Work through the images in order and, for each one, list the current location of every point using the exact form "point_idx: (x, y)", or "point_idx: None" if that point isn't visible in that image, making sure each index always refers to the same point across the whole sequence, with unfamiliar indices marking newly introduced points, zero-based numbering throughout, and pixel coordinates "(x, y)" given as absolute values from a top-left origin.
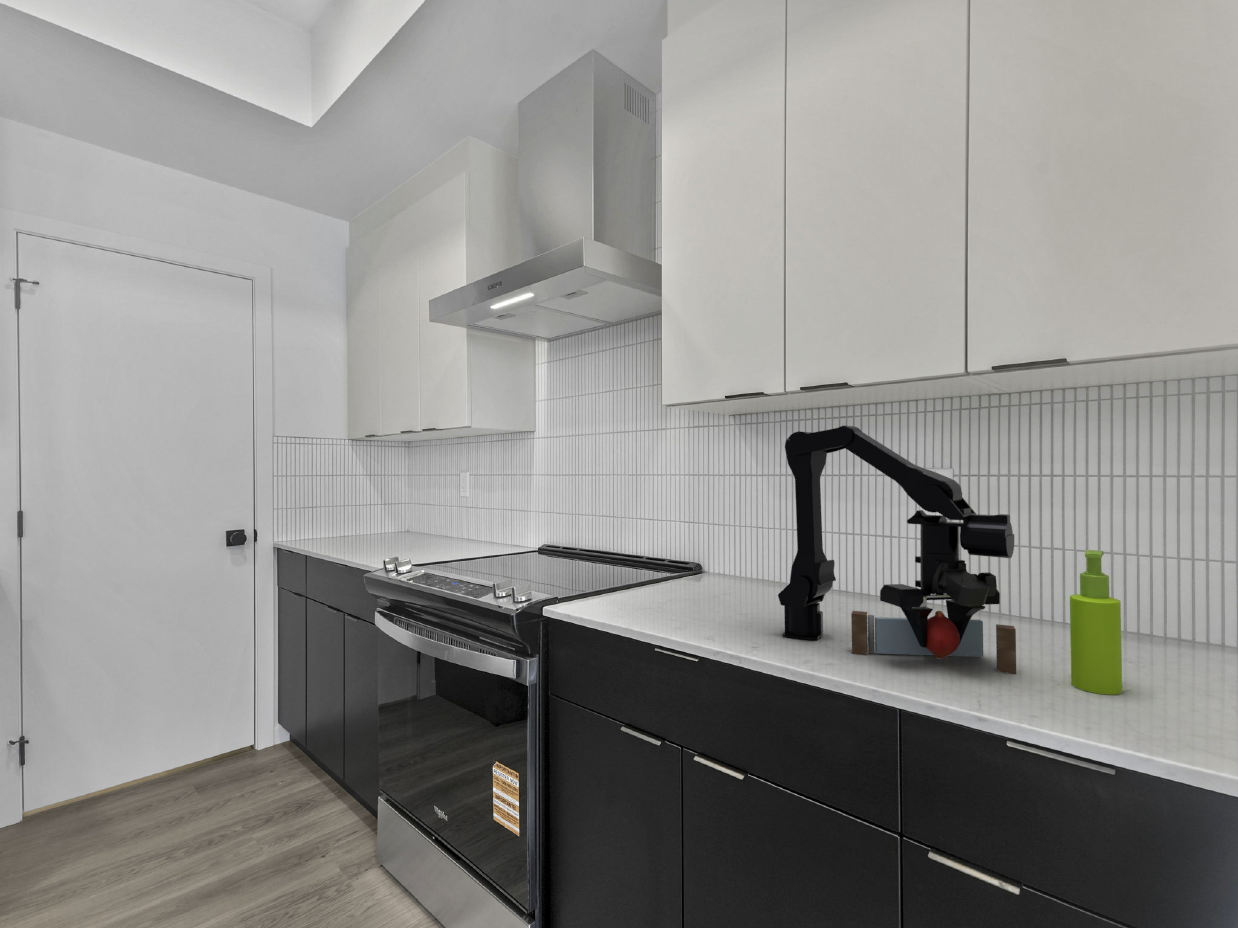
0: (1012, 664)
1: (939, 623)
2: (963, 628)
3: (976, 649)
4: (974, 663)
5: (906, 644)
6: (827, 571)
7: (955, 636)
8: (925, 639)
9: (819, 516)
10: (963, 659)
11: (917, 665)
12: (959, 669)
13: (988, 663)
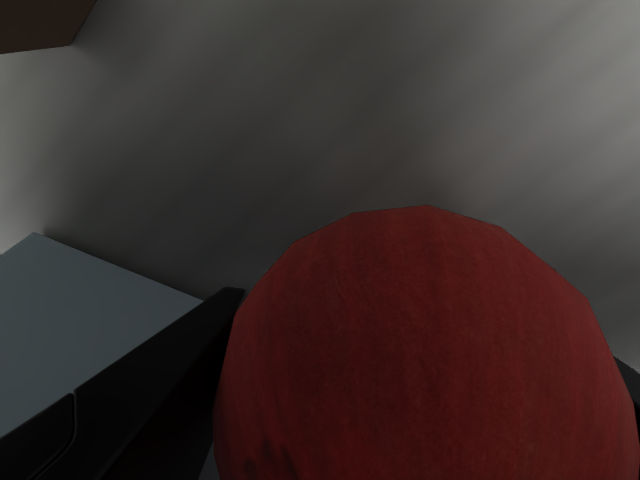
0: None
1: None
2: (131, 383)
3: (47, 274)
4: (169, 173)
5: None
6: None
7: (399, 264)
8: (623, 379)
9: None
10: (182, 254)
11: (560, 266)
12: (377, 110)
13: (72, 141)
